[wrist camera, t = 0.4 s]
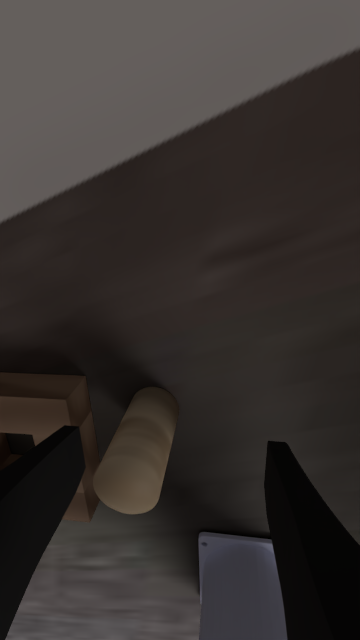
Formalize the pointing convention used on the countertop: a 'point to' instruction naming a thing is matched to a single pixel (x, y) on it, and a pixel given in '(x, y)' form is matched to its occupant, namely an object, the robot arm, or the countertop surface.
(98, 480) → the beech peg
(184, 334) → the countertop surface
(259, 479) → the countertop surface
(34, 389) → the walnut socket block
